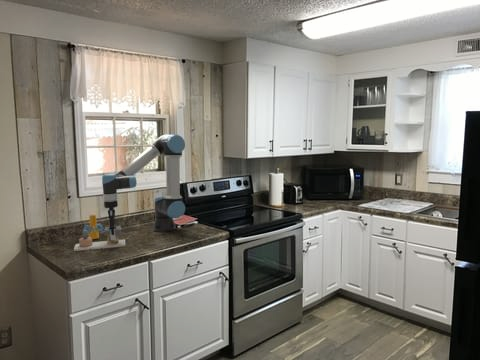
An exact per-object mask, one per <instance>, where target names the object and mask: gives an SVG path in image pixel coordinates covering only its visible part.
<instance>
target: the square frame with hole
mask: <svg viewBox="0 0 480 360" xmlns="http://www.w3.org/2000/svg"><path fill="white" fill-rule="evenodd" d="M114 227H115V234H116V235H120V234H122V226H121V225H115V226H114ZM109 228H110V226H105V227H104V229H103V230H104V236H110V230H109Z"/></svg>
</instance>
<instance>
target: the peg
mask: <svg viewBox="0 0 480 360" xmlns="http://www.w3.org/2000/svg"><path fill="white" fill-rule="evenodd" d="M87 230H88V229H86V230H84V229H83V230H82V237H81V238H78V242H79V243H78V244H79V246H80V247H89V246H92V242H93V239H92V238H91V237H89V233H88V232H89V231H88V232H87Z"/></svg>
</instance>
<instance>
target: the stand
mask: <svg viewBox="0 0 480 360" xmlns="http://www.w3.org/2000/svg"><path fill="white" fill-rule="evenodd" d="M115 237H116V240H111V236H110V235H106V241H107V244H117V243H119V240H120V239H119V234H116V235H115Z"/></svg>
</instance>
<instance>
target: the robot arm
mask: <svg viewBox="0 0 480 360" xmlns="http://www.w3.org/2000/svg"><path fill="white" fill-rule="evenodd" d="M185 148H186V142H185V139H184V137H183V136H181V135H179V134H163V135H161V136H159V137H158V138H156V139H155V140H154V141H153V142H151V143H150V145H149V147H148V148H147V149H146V150H144V151H143V152H142V153H141V154H140V155H139V156H137V157H136V158H135V159H133V160H132V161H131V162H130V163H128V164H127V165H126V166H125V167H123V168H122V169H121V170H120V171H118V173H108V174H107V173H106V174H103V175H102V176H101V178H102V180H101V181H102V182H101V183H102V193H103V195H102V196H101V197H102V198H103V200H104V202H103V207H104V208H105V209H108V210H107V214H108V220H109V227H110V228H109V230H110V235H109V236H111V240H116V237H115V235H117V234H115V227H114V226H117V223H116V210H115V208H118V205H119V203H118V190H125V189H133V188H135V187H137V183H138V182H137V178H136V176H135V175H136V174H137V173H138V172H140V171H141V170H142V169H144V168H145V167H146V166H148V164H149V163H151V162H152V161H153V160H154V159H156V158H157V157H160V156H162V155H163V156H164V158H165V160H166V161H165V163H166V164H165V166H166V169H165V170H166V171H165V172H166V176H165V177H166V179H165V182H166V184H165V185H166V191H165V192H166V195H162V196H156V197H155V198H154V202H153V203H154V215H155V220H154V223H153V227H152V229H153V231H154V232H155V233H156V232H157V233H167V232H172V231H175V230H176V228H177V227H176V224H175V221H174V219H179V218H181V217H182V216H183V215H184V214H185V212H186V206H185V205H186V204H184V202H183V196H182V195H181V193H180V192H181V191H180V189H181V187H180V186H181V185H180V183H181V181H180V180H181V177H180V176H181V173H180V172H181V169H180V168H181V167H180V165H181V163H180V162H181V161H180V159H181V157H182V156H183V151H184V150H185Z"/></svg>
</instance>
